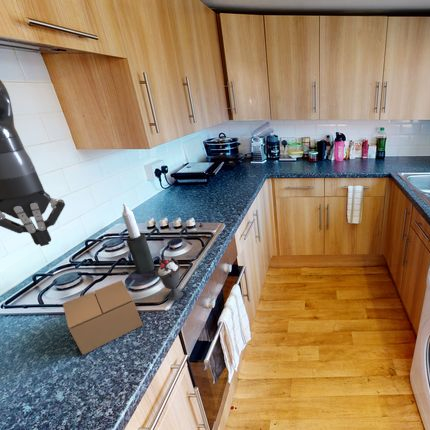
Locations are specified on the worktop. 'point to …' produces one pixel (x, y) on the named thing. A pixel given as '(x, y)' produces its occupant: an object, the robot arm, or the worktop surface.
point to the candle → (137, 244)
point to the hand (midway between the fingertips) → (44, 244)
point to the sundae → (170, 277)
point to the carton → (108, 318)
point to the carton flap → (81, 309)
